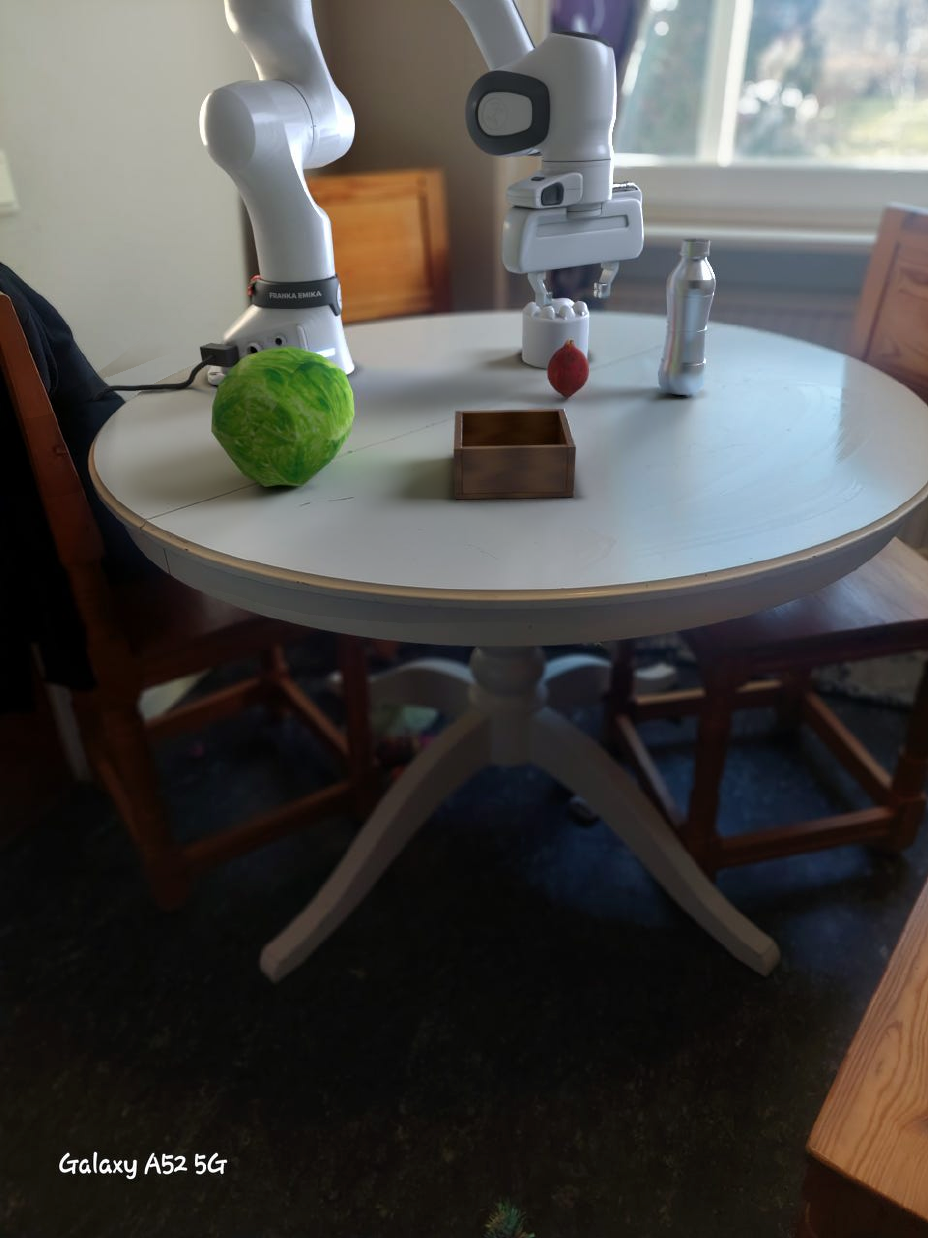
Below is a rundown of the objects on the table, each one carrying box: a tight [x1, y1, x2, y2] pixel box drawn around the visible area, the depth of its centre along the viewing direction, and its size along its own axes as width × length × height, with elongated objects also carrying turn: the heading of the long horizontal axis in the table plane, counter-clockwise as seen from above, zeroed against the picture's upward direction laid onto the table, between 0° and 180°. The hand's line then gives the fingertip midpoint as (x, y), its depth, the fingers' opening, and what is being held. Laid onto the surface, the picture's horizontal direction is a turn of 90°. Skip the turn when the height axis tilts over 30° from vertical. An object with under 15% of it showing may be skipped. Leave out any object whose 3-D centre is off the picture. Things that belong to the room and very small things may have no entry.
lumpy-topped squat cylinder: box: [521, 297, 590, 370], centre depth 138 cm, size 10×13×9 cm
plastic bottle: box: [657, 237, 717, 396], centre depth 118 cm, size 6×7×20 cm
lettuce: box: [210, 347, 356, 488], centre depth 99 cm, size 15×22×15 cm
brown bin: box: [453, 408, 577, 500], centre depth 96 cm, size 13×13×6 cm
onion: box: [546, 339, 590, 398], centre depth 120 cm, size 6×6×8 cm
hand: (573, 301), depth 116 cm, fingers open, 8 cm apart
